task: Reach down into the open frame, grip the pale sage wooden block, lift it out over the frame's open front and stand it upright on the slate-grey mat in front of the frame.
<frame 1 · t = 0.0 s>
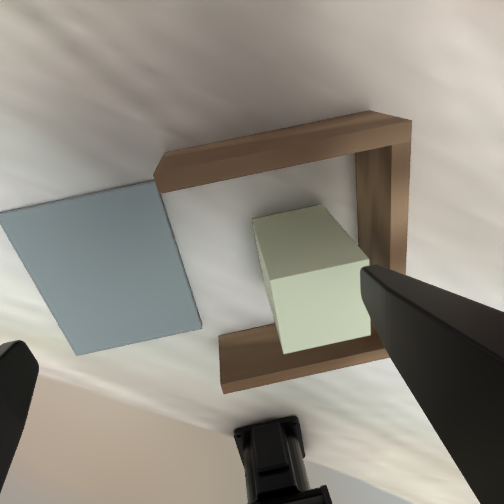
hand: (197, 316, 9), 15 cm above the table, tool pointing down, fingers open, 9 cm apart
open frame: (284, 244, 25), on the table
mat: (112, 275, 25), on the table
block: (291, 243, 25), on the table
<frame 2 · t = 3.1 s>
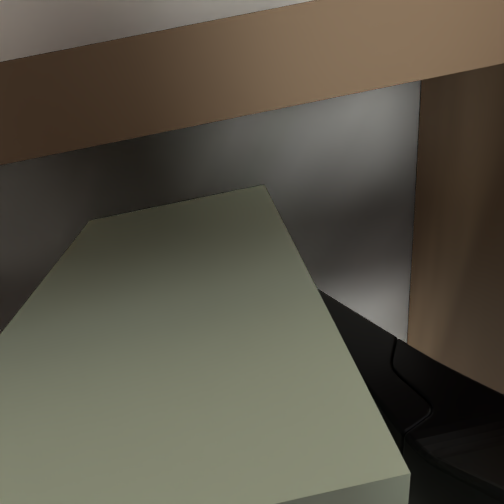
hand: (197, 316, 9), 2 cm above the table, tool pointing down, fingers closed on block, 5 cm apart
open frame: (202, 289, 11), on the table
block: (199, 275, 11), on the table, touching gripper
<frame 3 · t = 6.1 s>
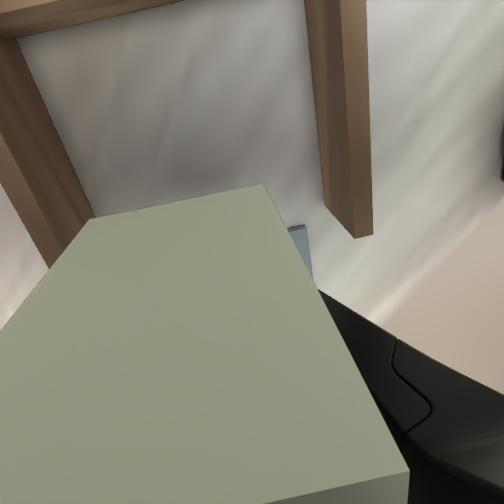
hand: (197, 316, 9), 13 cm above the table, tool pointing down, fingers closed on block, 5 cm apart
open frame: (190, 125, 19), on the table
mat: (232, 305, 25), on the table
block: (198, 275, 11), point 11 cm above the table, touching gripper
when the fingers open (4 cm above the table, at t = 9.3 s): block drops 1 cm, resting on mat.
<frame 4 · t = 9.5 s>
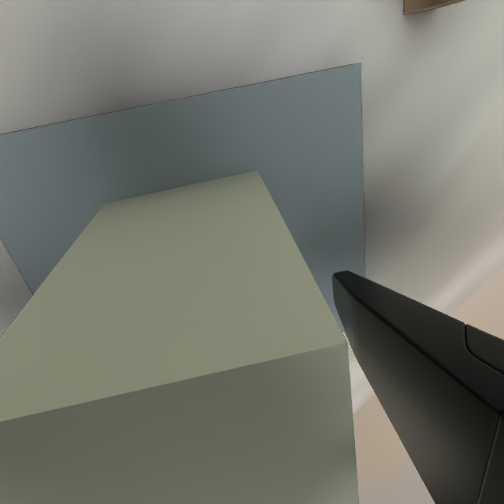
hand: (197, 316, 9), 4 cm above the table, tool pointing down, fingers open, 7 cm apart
mat: (199, 248, 13), on the table
block: (201, 254, 12), resting on mat
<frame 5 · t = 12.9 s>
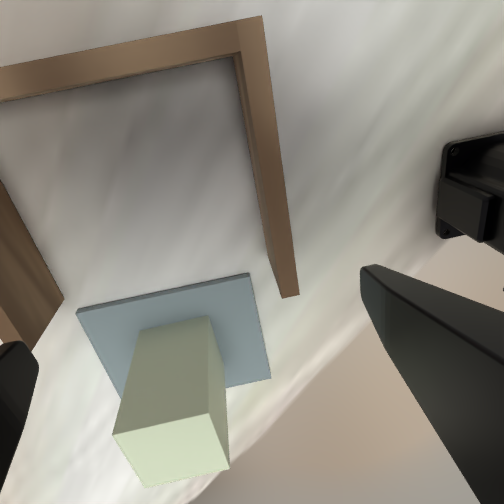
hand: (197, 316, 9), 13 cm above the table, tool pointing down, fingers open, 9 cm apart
open frame: (134, 185, 20), on the table
mat: (183, 344, 26), on the table
block: (183, 348, 26), resting on mat
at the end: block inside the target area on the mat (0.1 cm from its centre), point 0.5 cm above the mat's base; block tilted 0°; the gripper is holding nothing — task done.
